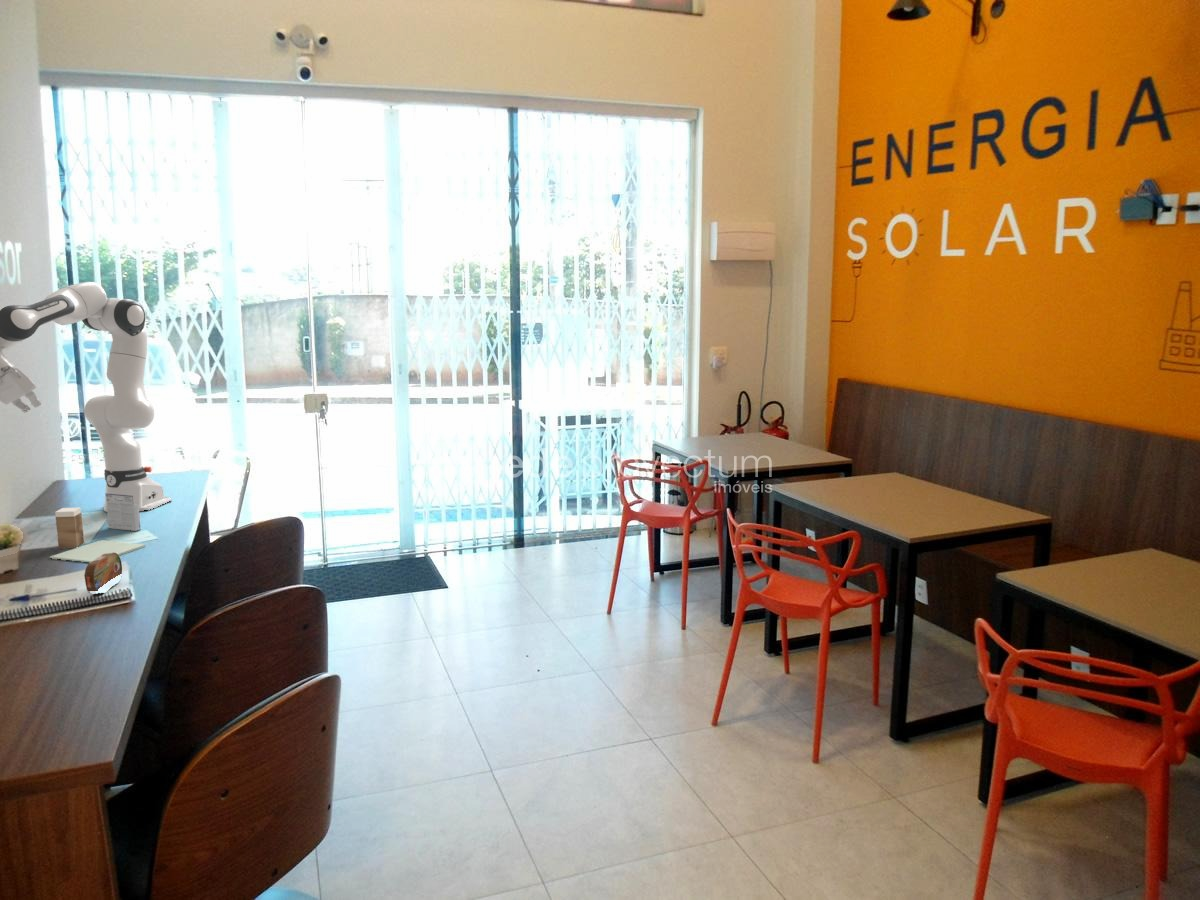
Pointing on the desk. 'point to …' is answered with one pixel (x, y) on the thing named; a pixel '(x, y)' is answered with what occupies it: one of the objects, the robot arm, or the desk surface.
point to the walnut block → (69, 527)
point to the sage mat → (97, 550)
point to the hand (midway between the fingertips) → (33, 408)
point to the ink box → (122, 512)
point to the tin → (102, 571)
